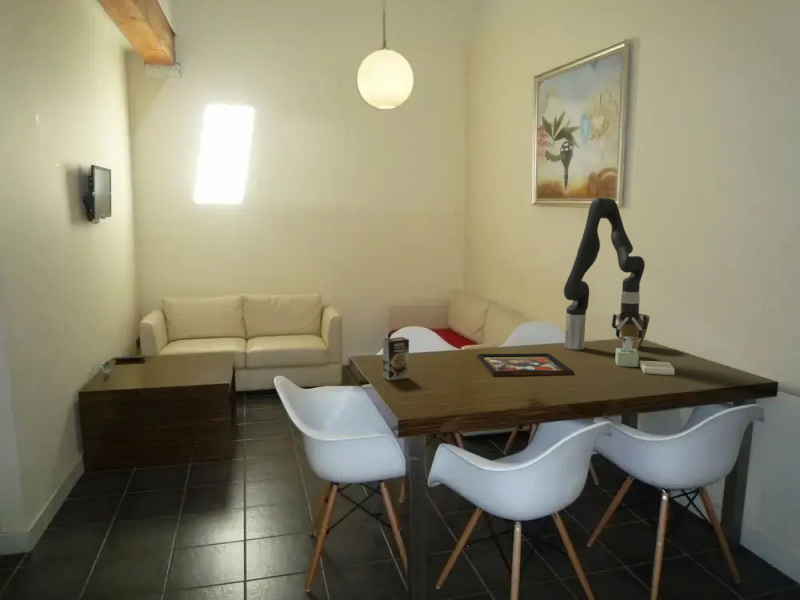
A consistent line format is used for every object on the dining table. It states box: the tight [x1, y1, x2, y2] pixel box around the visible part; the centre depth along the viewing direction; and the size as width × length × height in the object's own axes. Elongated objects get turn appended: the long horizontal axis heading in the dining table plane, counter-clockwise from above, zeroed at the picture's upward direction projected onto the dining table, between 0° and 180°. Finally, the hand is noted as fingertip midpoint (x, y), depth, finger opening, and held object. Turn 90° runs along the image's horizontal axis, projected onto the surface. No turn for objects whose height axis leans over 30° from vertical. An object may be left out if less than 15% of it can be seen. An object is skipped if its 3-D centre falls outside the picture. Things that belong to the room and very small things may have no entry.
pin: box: [622, 337, 633, 352], centre depth 276 cm, size 4×4×12 cm
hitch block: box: [614, 347, 640, 368], centre depth 276 cm, size 9×9×6 cm
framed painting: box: [476, 352, 575, 377], centre depth 273 cm, size 38×35×3 cm
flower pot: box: [618, 336, 641, 351], centre depth 290 cm, size 9×9×9 cm
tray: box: [638, 360, 676, 376], centre depth 266 cm, size 12×12×2 cm
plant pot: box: [617, 313, 651, 349], centre depth 309 cm, size 15×15×16 cm
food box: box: [382, 336, 410, 381], centre depth 253 cm, size 9×6×16 cm
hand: (628, 338), depth 275 cm, fingers open, 8 cm apart
